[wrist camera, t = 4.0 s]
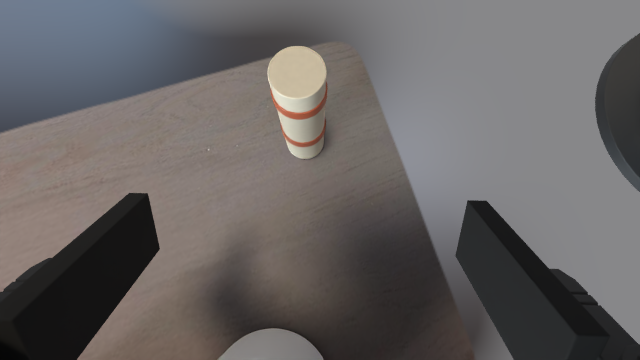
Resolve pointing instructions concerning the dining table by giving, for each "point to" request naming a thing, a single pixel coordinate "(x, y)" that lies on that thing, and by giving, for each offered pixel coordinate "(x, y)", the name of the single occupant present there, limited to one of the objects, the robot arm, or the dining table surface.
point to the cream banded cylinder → (300, 98)
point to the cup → (272, 347)
